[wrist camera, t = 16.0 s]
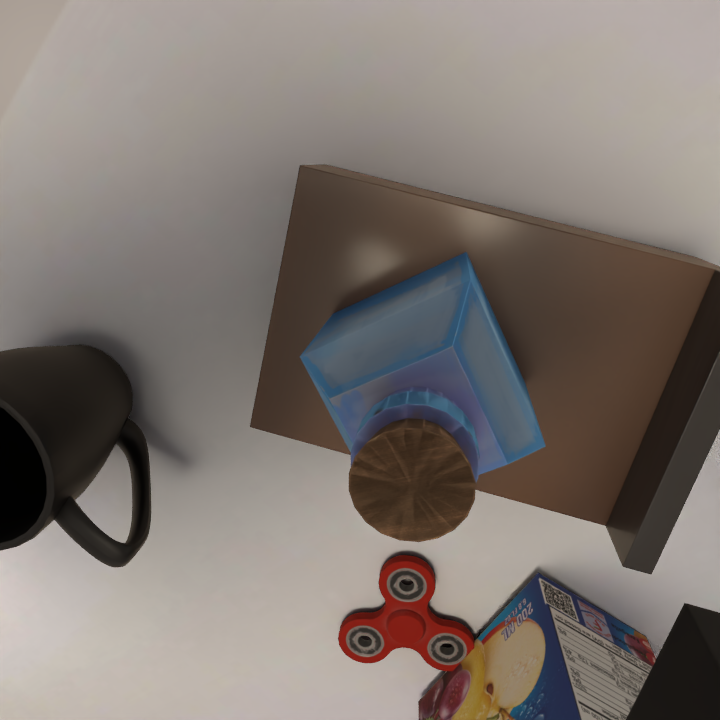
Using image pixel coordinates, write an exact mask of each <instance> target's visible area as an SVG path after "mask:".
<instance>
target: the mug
mask: <svg viewBox="0 0 720 720" xmlns="http://www.w3.org/2000/svg"><path fill="white" fill-rule="evenodd" d="M132 396H133V395H132V390H131V385H130V382H129V380H128V378H127V376H126V374H125V372H124V371H123V369H122V368H121V367H120V365H119V364H118V363H117V362H116V361H115V360H114V359H113V358H112V357H110V356H109V355H107V354H106V353H104V352H103V351H101V350H98V349H96V348H93V347H91V346H85V345H68V346H41V347H27V348H17V349H12V350H6V351H0V550H4V549H9V548H13V547H17V546H20V545H21V544H23V543H25V542H27V541H29V540H31V539H33V538H34V537H36V536H37V535H38V534H39V533H40V532H41V531H42V530H43V529H44V528H45V527H47V526H48V525H49V524H50V523H51V522H52V521H53V520H55V521H56V522H57V523H58V524H59V525H60V526H61V527H62V529H63V530H64V531H65V532H66V533H67V534H68V535H69V536H70V537H71V538H72V539H73V540H74V541H76V542H77V543H78V544H79V545H80V546H81V547H82V548H83V549H85V550H86V551H87V552H88V553H89V554H91V555H92V556H93V557H95V558H96V559H98V560H99V561H101V562H102V563H104V564H106V565H108V566H111V567H123V566H125V565H126V564H127V563H128V562H129V561H130V560H131V559H132V558H133V557H134V556H135V555H136V553H137V552H138V551H139V550H140V548H141V547H142V546H143V544H144V543H145V541H146V539H147V537H148V534H149V529H150V522H151V483H150V464H149V453H148V447H147V443H146V439H145V437H144V434H143V433H142V431H141V429H140V428H139V427H138V426H137V425H136V424H135V423H134V422H133V421H132V420H131V419H129V418H128V417H129V415H130V412H131V409H132ZM115 444H117V445H118V446H119V447H120V448H121V449H122V450H123V452H124V453H125V455H126V457H127V460H128V462H129V466H130V471H131V479H132V522H131V528H130V533H129V536H128V539H127V541H126V543H120V542H118V541H115V540H114V539H112V538H110V537H109V536H108V535H106V534H105V533H104V532H103V531H101V530H100V529H99V528H98V527H97V526H96V525H95V524H94V523H93V522H92V521H91V520H90V519H89V518H88V517H87V515H86V514H85V513H84V512H83V511H82V509H81V508H80V507H79V506H78V504H77V503H76V501H75V499H77V498H78V497H79V496H80V495H81V494H82V493H83V492H84V491H85V489H86V488H87V487H88V486H89V484H90V483H91V482H92V481H93V479H94V478H95V477H96V475H97V474H98V472H99V471H100V469H101V468H102V467H103V465H104V463H105V462H106V460H107V458H108V456H109V455H110V453H111V451H112V449H113V447H114V446H115Z"/></svg>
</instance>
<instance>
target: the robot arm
mask: <svg viewBox="0 0 720 720" xmlns="http://www.w3.org/2000/svg"><path fill="white" fill-rule="evenodd" d="M626 720H720V613H718V612H715V611H711V610H708V609H704V608H700V607H697V606H693V605H690V604H686V603H684V605H683V607H682V609H681V611H680V613H679V615H678V617H677V619H676V621H675V623H674V625H673V627H672V629H671V631H670V633H669V635H668V637H667V639H666V641H665V643H664V645H663V647H662V649H661V651H660V653H659V655H658V657H657V659H656V661H655V663H654V665H653V667H652V669H651V671H650V673H649V675H648V677H647V679H646V681H645V683H644V685H643V687H642V689H641V691H640V693H639V695H638V697H637V699H636V701H635V702H634V704H633V706H632V708H631V710H630V712H629V714H628V716H627V718H626Z"/></svg>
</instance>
